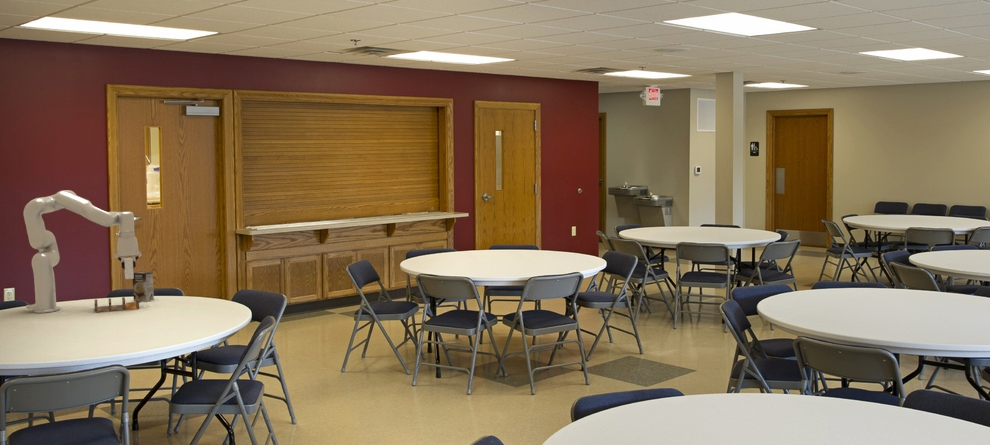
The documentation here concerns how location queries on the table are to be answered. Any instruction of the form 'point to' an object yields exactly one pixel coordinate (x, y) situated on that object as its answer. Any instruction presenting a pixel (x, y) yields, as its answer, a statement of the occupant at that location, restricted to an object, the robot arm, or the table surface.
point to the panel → (128, 268)
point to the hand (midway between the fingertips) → (128, 268)
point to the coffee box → (143, 286)
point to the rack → (117, 306)
